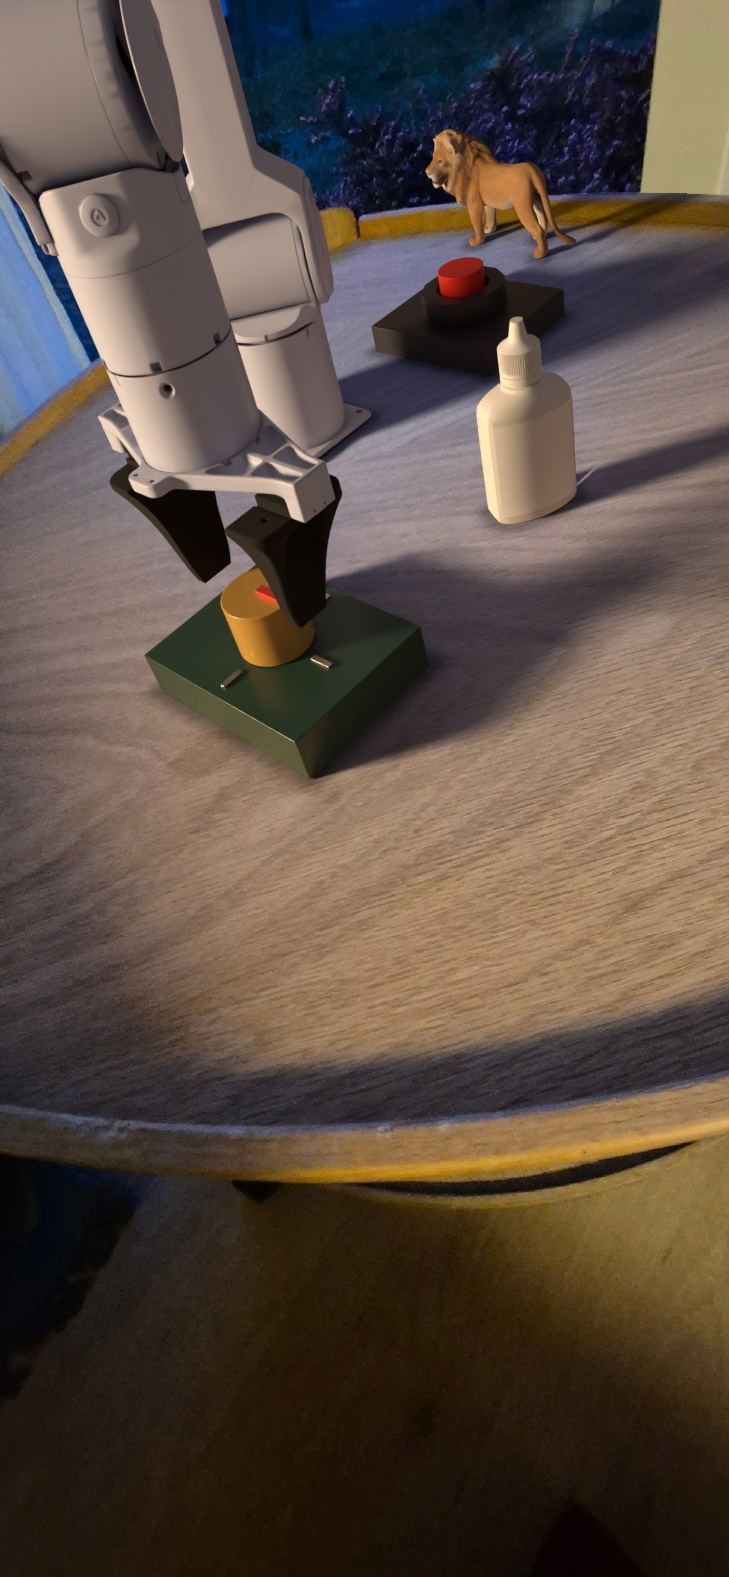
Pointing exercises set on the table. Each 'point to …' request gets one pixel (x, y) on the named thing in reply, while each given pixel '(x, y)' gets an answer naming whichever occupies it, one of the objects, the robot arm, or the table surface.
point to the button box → (466, 323)
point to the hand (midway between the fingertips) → (259, 592)
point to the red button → (461, 277)
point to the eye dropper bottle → (526, 434)
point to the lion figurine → (492, 187)
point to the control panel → (294, 678)
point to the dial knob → (262, 622)
